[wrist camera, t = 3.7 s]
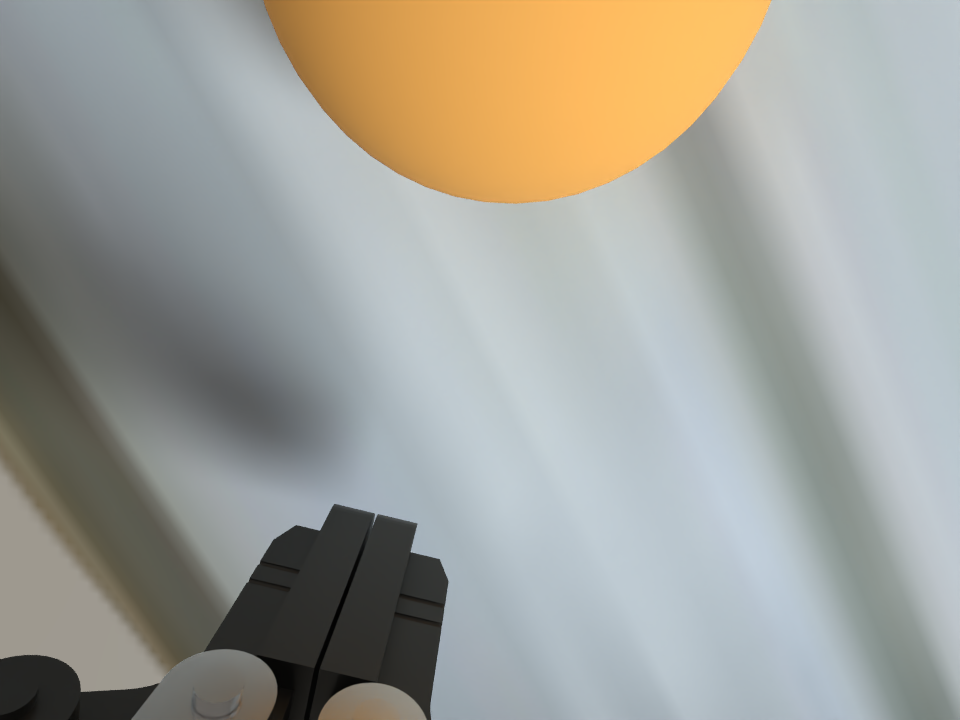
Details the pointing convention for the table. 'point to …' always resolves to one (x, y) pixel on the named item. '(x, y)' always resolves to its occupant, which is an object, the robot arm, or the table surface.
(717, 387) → the table surface
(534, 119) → the ball
